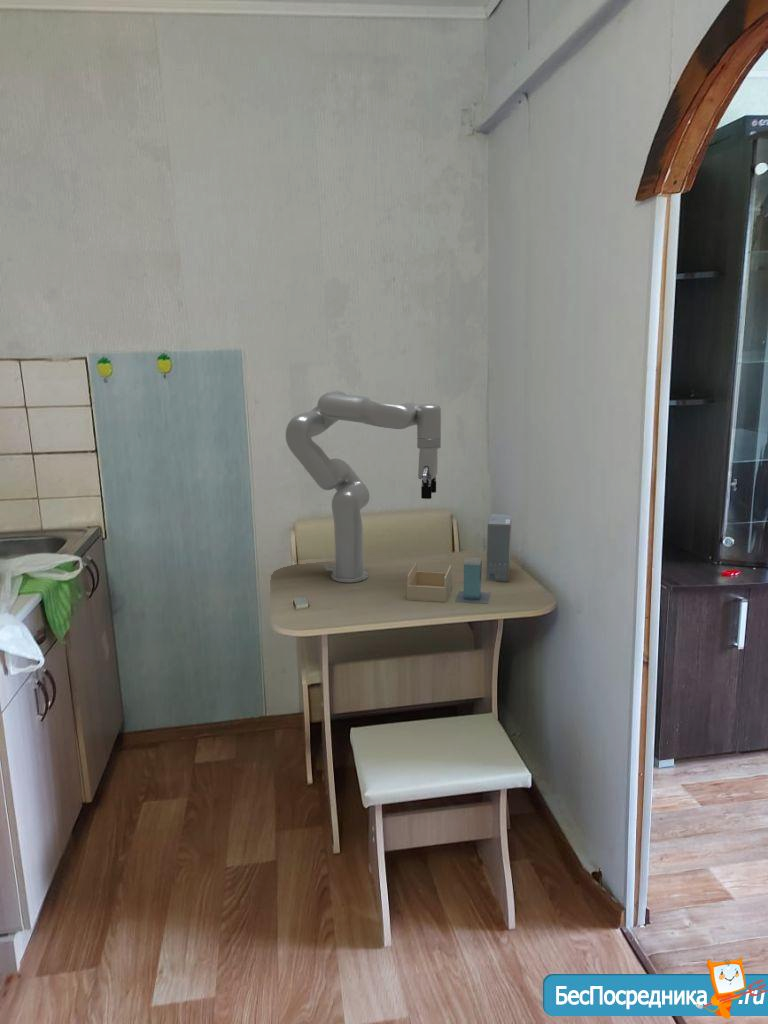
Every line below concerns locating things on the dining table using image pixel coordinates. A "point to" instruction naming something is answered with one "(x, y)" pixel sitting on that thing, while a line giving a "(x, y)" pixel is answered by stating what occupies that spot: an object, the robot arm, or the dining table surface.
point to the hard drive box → (498, 547)
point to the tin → (472, 578)
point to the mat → (483, 600)
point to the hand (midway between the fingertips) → (428, 495)
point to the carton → (428, 585)
